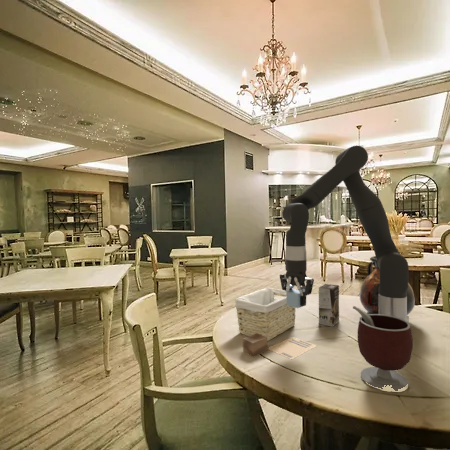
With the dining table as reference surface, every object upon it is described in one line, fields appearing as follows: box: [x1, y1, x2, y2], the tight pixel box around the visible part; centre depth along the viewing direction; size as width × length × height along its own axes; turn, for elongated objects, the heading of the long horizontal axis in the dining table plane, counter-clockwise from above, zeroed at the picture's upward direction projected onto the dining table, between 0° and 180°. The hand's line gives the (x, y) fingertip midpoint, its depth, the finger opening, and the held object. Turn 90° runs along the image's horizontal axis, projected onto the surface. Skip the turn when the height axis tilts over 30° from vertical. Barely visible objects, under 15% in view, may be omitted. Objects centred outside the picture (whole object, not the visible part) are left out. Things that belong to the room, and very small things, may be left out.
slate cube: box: [286, 288, 307, 309], centre depth 109 cm, size 5×5×5 cm
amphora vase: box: [359, 255, 416, 316], centre depth 132 cm, size 22×22×28 cm
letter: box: [267, 336, 317, 360], centre depth 108 cm, size 11×15×1 cm
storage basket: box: [234, 287, 296, 342], centre depth 125 cm, size 24×16×15 cm
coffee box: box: [318, 283, 340, 327], centre depth 131 cm, size 9×6×16 cm
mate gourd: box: [352, 305, 414, 391], centre depth 86 cm, size 16×14×20 cm
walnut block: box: [242, 333, 268, 358], centre depth 105 cm, size 5×7×5 cm
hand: (296, 303), depth 110 cm, fingers closed on slate cube, 5 cm apart
